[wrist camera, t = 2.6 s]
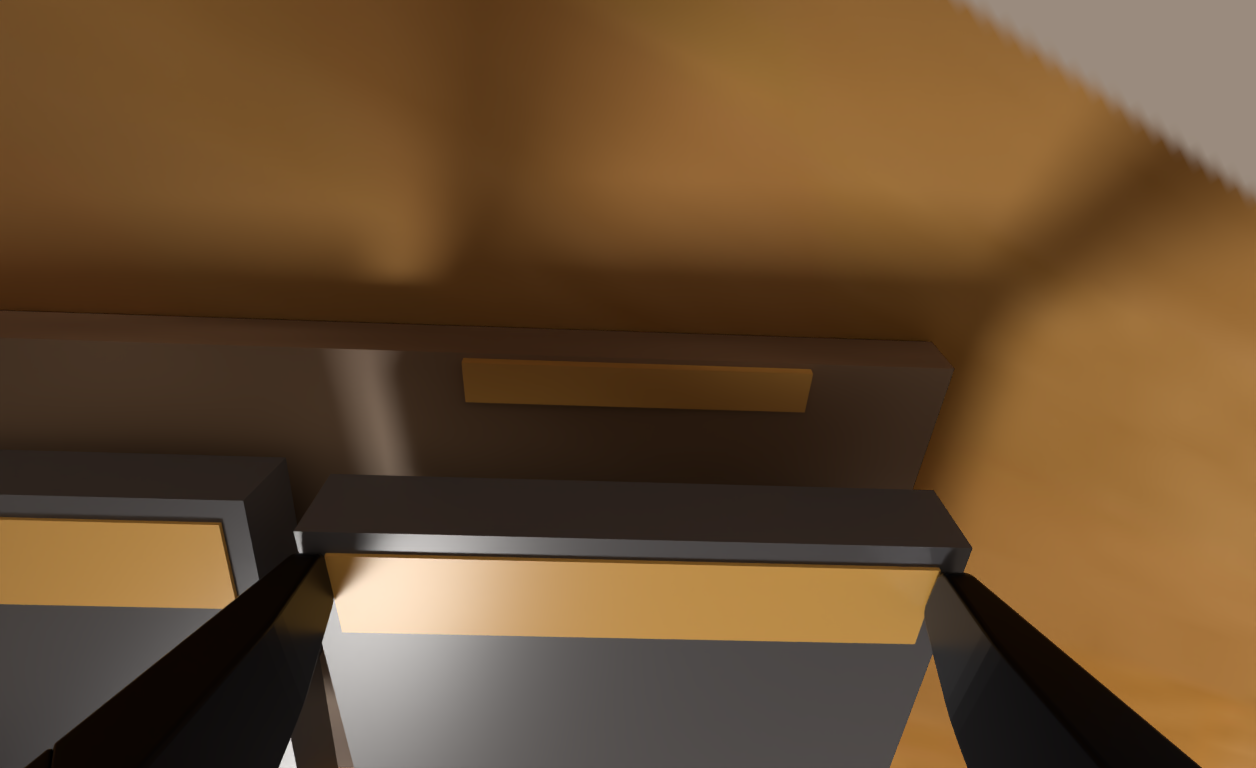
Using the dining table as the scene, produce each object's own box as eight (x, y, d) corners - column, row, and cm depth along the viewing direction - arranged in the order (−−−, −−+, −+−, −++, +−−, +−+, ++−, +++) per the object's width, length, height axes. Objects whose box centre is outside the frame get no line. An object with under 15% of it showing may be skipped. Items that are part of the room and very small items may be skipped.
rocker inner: (351, 848, 15) (325, 921, 14) (-103, 843, 15) (-175, 916, 13) (285, 457, 11) (240, 503, 10) (-320, 440, 11) (-452, 484, 10)
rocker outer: (824, 825, 16) (843, 896, 15) (403, 820, 16) (384, 892, 14) (933, 490, 11) (974, 551, 10) (330, 473, 11) (291, 534, 10)
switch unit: (805, 738, 19) (825, 821, 17) (25, 726, 19) (-41, 810, 17) (931, 341, 12) (986, 407, 11) (-292, 300, 12) (-464, 362, 10)
